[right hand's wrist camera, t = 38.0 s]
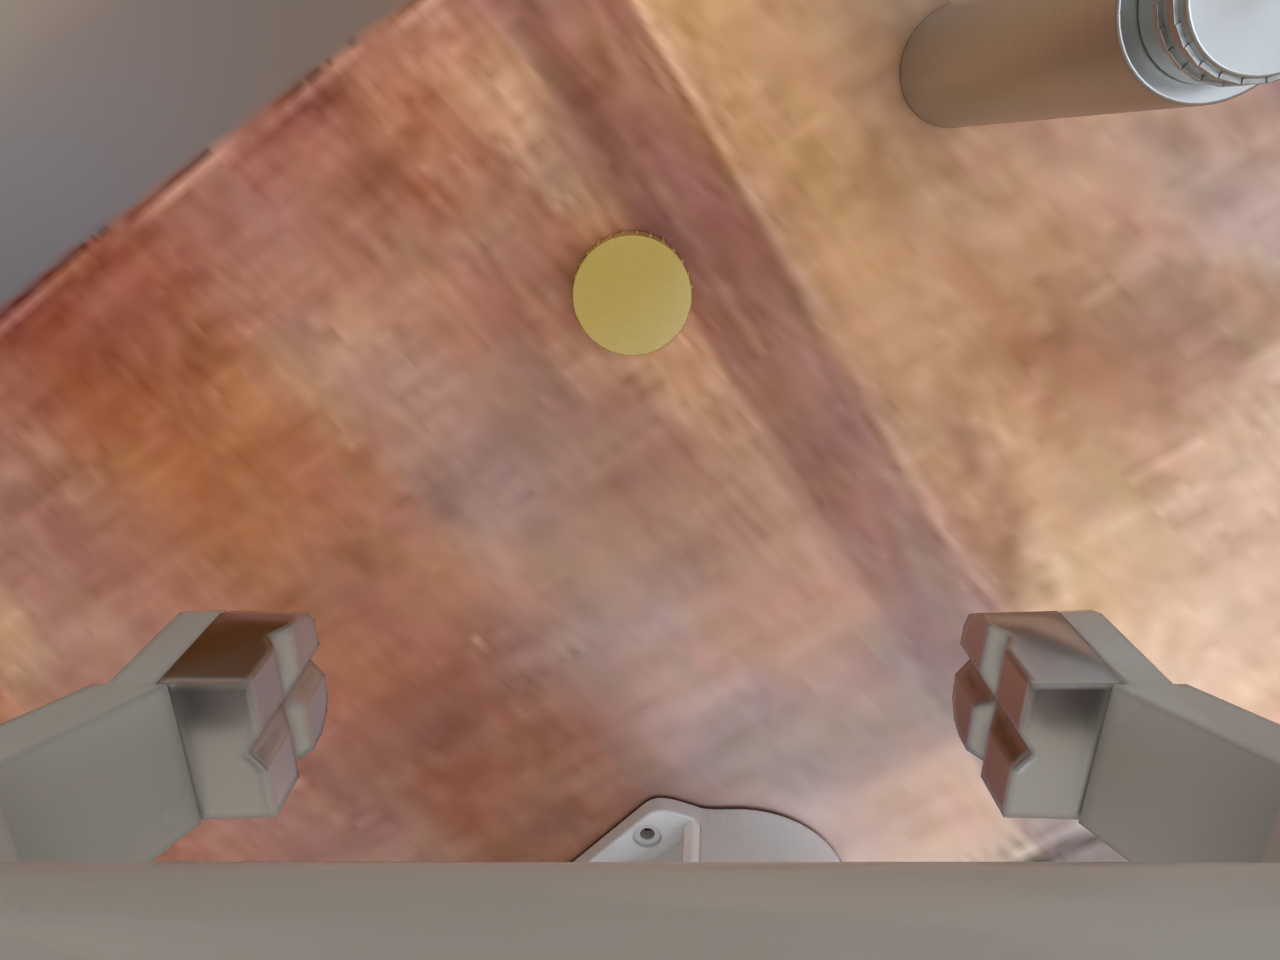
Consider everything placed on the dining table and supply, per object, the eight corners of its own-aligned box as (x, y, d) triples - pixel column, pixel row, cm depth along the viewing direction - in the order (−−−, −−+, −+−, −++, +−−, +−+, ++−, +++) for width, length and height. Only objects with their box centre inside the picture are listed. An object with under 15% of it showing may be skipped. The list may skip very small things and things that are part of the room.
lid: (608, 366, 40) (607, 377, 38) (553, 264, 38) (548, 270, 36) (710, 314, 39) (713, 323, 37) (658, 207, 37) (659, 210, 35)
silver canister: (880, 48, 35) (1131, -65, 17) (984, -23, 34) (1367, -221, 16) (929, 150, 36) (1207, 145, 19) (1031, 85, 35) (1427, 14, 18)
